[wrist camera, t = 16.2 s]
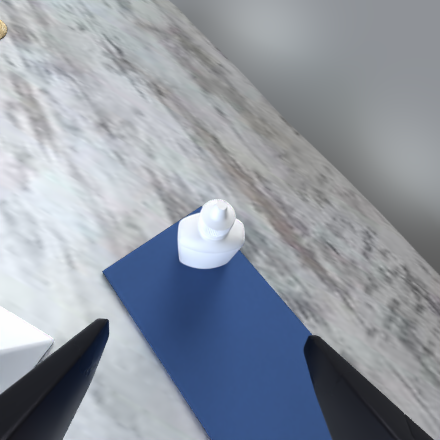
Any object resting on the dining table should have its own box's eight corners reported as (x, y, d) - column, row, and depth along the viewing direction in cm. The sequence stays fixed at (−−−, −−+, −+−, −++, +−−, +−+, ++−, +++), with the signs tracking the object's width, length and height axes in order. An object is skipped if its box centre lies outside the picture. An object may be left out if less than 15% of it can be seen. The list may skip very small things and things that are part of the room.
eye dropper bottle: (216, 284, 22) (248, 257, 11) (172, 258, 22) (161, 209, 12) (234, 250, 24) (275, 200, 13) (192, 227, 24) (199, 160, 14)
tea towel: (394, 432, 20) (398, 434, 19) (317, 600, 15) (321, 608, 14) (201, 207, 26) (201, 205, 26) (103, 271, 21) (101, 271, 21)
